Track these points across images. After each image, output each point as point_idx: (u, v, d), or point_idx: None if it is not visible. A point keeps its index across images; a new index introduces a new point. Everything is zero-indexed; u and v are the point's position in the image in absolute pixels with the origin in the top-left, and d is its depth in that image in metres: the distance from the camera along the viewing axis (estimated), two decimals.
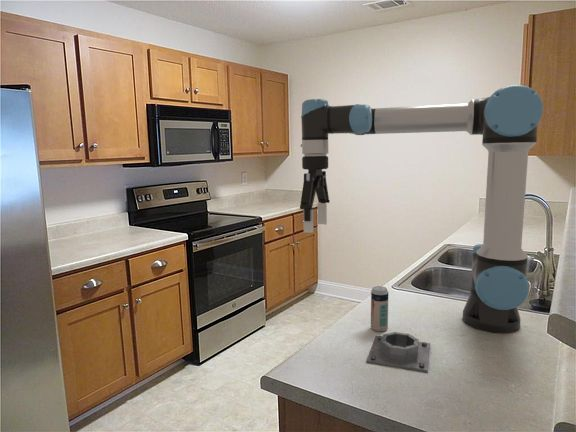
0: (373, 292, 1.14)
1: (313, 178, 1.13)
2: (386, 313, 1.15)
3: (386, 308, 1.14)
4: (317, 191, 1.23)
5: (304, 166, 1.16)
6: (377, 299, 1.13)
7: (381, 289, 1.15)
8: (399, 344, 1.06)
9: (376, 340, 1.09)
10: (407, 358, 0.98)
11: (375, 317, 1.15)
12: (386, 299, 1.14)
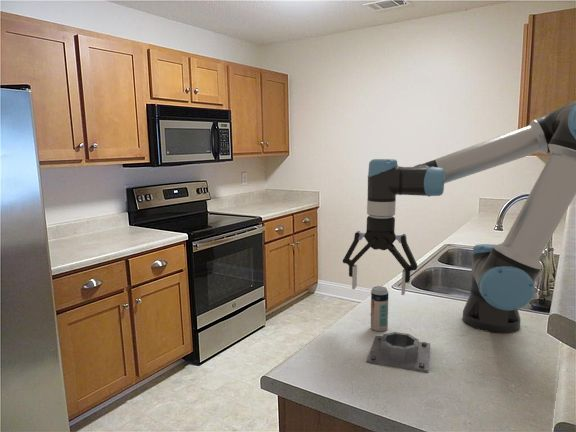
0: (373, 292, 1.14)
1: (358, 237, 1.14)
2: (386, 313, 1.15)
3: (386, 308, 1.14)
4: None
5: None
6: (377, 299, 1.13)
7: (381, 289, 1.15)
8: (399, 344, 1.06)
9: (376, 340, 1.09)
10: (407, 358, 0.98)
11: (375, 317, 1.15)
12: (386, 299, 1.14)
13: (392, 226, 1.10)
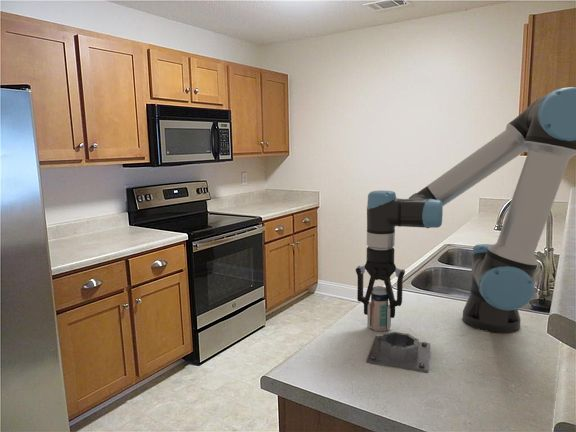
0: (373, 292, 1.14)
1: (360, 272, 1.15)
2: (386, 313, 1.15)
3: (386, 308, 1.14)
4: None
5: None
6: (377, 299, 1.13)
7: (381, 289, 1.15)
8: (399, 344, 1.06)
9: (376, 340, 1.09)
10: (407, 358, 0.98)
11: (375, 317, 1.15)
12: (386, 299, 1.14)
13: (392, 257, 1.11)
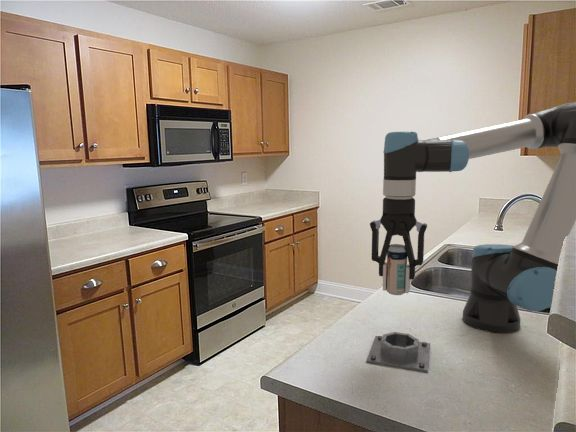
0: (390, 249, 1.00)
1: (375, 226, 1.01)
2: (404, 274, 1.00)
3: (404, 268, 1.00)
4: None
5: None
6: (394, 257, 0.99)
7: (399, 246, 1.00)
8: (399, 344, 1.06)
9: (376, 340, 1.09)
10: (407, 358, 0.98)
11: (392, 278, 1.00)
12: (405, 258, 0.99)
13: (412, 208, 0.96)
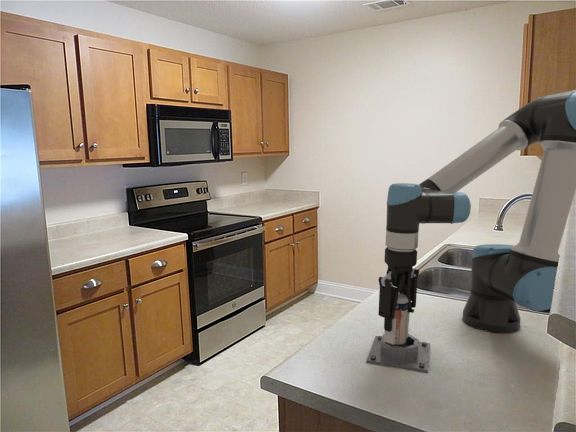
0: (400, 302, 0.98)
1: (390, 282, 0.95)
2: None
3: None
4: (400, 292, 1.02)
5: (385, 260, 0.99)
6: (405, 308, 0.99)
7: (400, 296, 1.00)
8: None
9: (376, 340, 1.09)
10: (407, 358, 0.98)
11: (402, 329, 0.99)
12: None
13: None
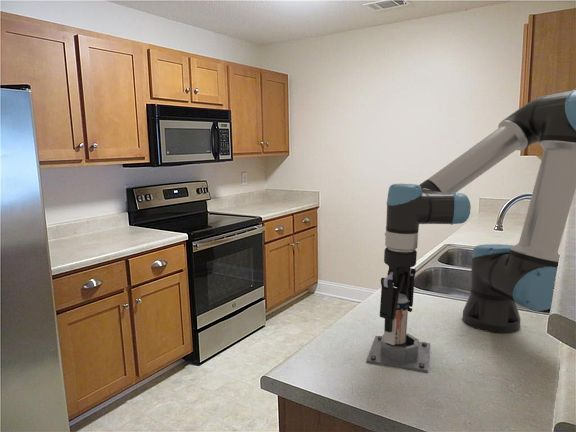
0: (401, 301, 0.98)
1: (393, 283, 0.95)
2: None
3: None
4: (399, 292, 1.02)
5: (385, 261, 0.98)
6: (405, 307, 0.99)
7: (400, 295, 1.01)
8: None
9: (376, 340, 1.09)
10: (407, 358, 0.98)
11: (403, 329, 1.00)
12: None
13: None
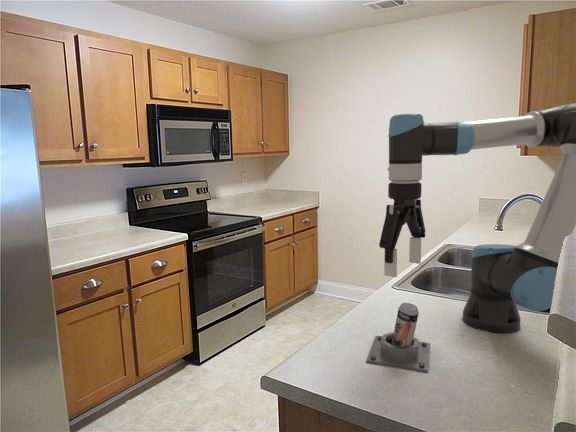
0: (411, 313, 0.97)
1: (398, 211, 0.92)
2: None
3: None
4: (408, 224, 1.02)
5: (390, 195, 0.96)
6: (415, 319, 0.98)
7: (411, 307, 0.99)
8: None
9: (376, 340, 1.09)
10: (407, 358, 0.98)
11: (409, 340, 0.99)
12: None
13: None
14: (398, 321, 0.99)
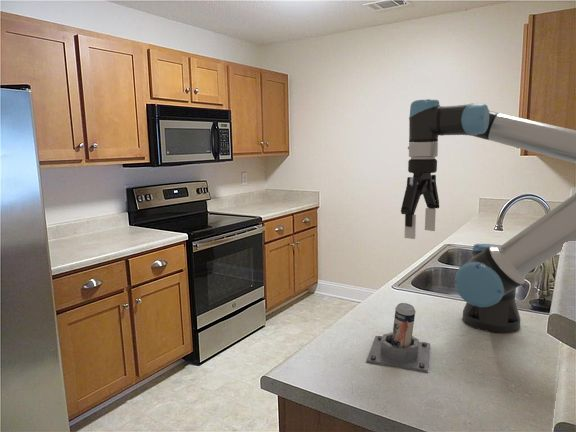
0: (407, 314, 0.97)
1: (417, 182, 1.08)
2: None
3: None
4: (425, 196, 1.18)
5: (409, 169, 1.12)
6: (411, 319, 0.98)
7: (408, 307, 0.99)
8: None
9: (376, 340, 1.09)
10: (407, 358, 0.98)
11: (407, 340, 0.99)
12: None
13: None
14: (395, 321, 1.00)
